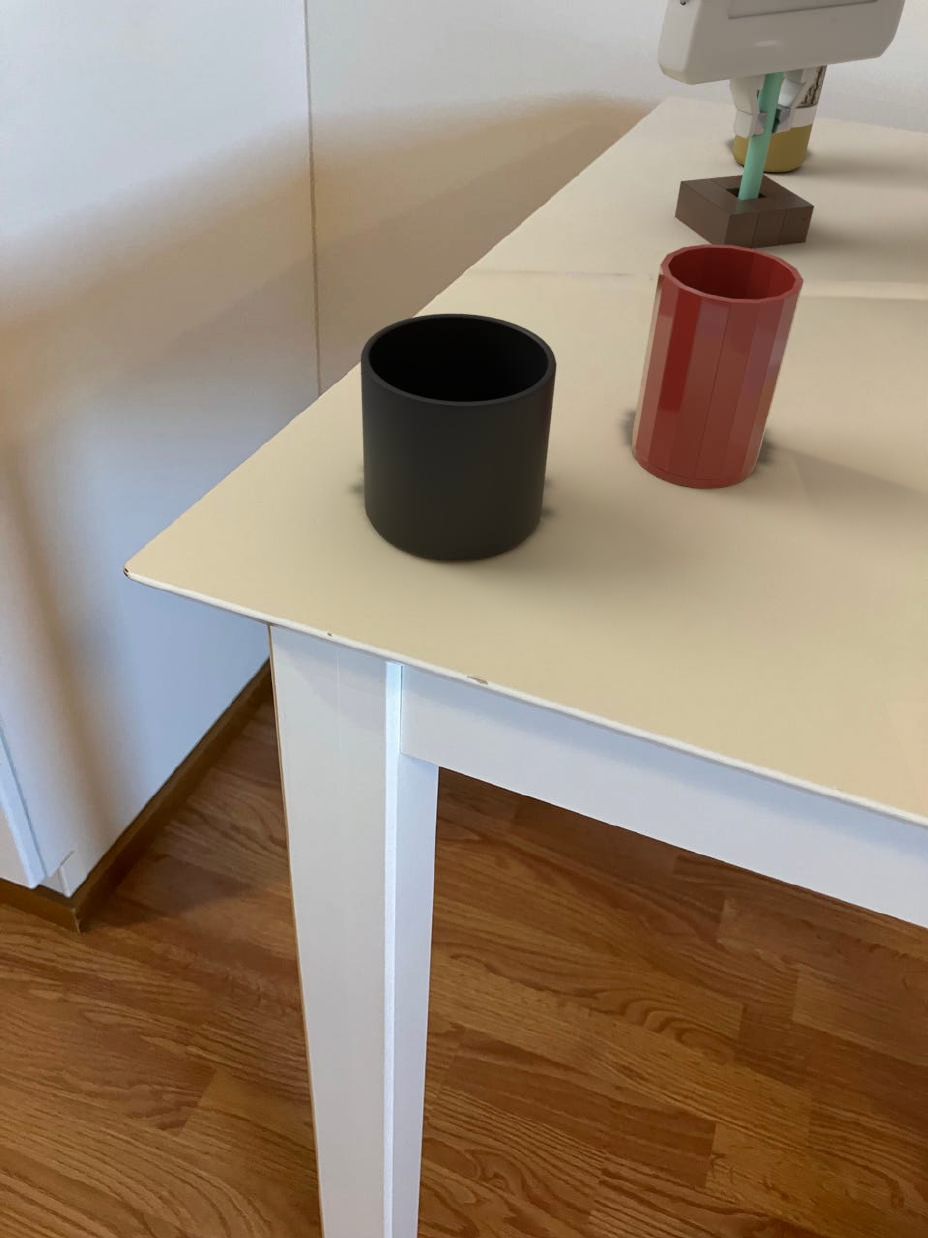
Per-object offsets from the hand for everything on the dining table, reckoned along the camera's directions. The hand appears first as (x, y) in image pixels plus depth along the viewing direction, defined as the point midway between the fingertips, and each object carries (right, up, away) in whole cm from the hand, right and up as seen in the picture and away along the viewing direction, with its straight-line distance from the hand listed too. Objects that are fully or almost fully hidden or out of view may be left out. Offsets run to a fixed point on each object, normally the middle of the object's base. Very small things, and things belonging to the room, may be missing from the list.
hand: (761, 132), depth 81 cm
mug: (-23, -30, -23) cm, 44 cm away
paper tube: (+6, +6, +21) cm, 23 cm away
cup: (-9, -27, -19) cm, 34 cm away
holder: (0, -6, +6) cm, 9 cm away
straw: (0, -6, +5) cm, 8 cm away
